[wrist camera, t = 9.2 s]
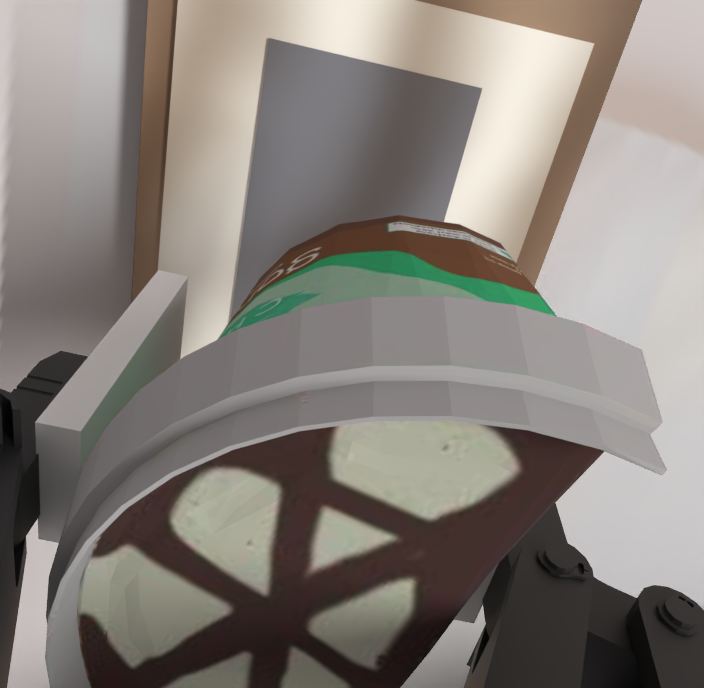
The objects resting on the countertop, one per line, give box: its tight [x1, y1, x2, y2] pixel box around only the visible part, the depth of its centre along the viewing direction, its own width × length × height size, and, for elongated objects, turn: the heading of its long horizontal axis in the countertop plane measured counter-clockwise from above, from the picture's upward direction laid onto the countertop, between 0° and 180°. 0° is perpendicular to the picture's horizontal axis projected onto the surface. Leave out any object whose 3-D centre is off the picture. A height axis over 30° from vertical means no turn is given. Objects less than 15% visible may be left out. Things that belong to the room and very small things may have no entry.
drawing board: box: [131, 0, 642, 359], centre depth 25 cm, size 15×20×1 cm
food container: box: [45, 215, 667, 688], centre depth 14 cm, size 12×6×10 cm, turn 151°
